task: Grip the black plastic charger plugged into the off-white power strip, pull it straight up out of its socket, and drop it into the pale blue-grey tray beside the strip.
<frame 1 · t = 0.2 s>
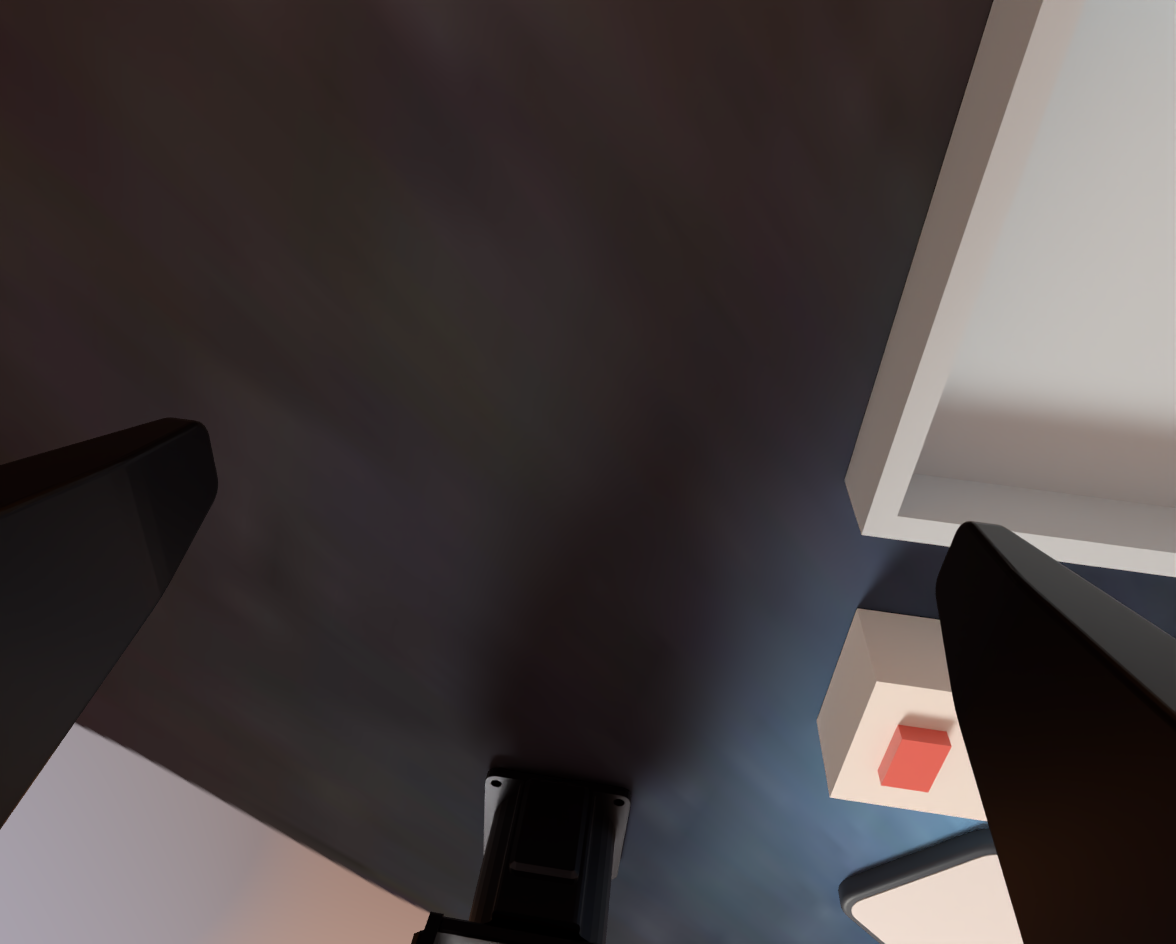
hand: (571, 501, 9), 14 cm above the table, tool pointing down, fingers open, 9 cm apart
phone case: (997, 925, 38), on the table
power strip: (1105, 706, 29), on the table
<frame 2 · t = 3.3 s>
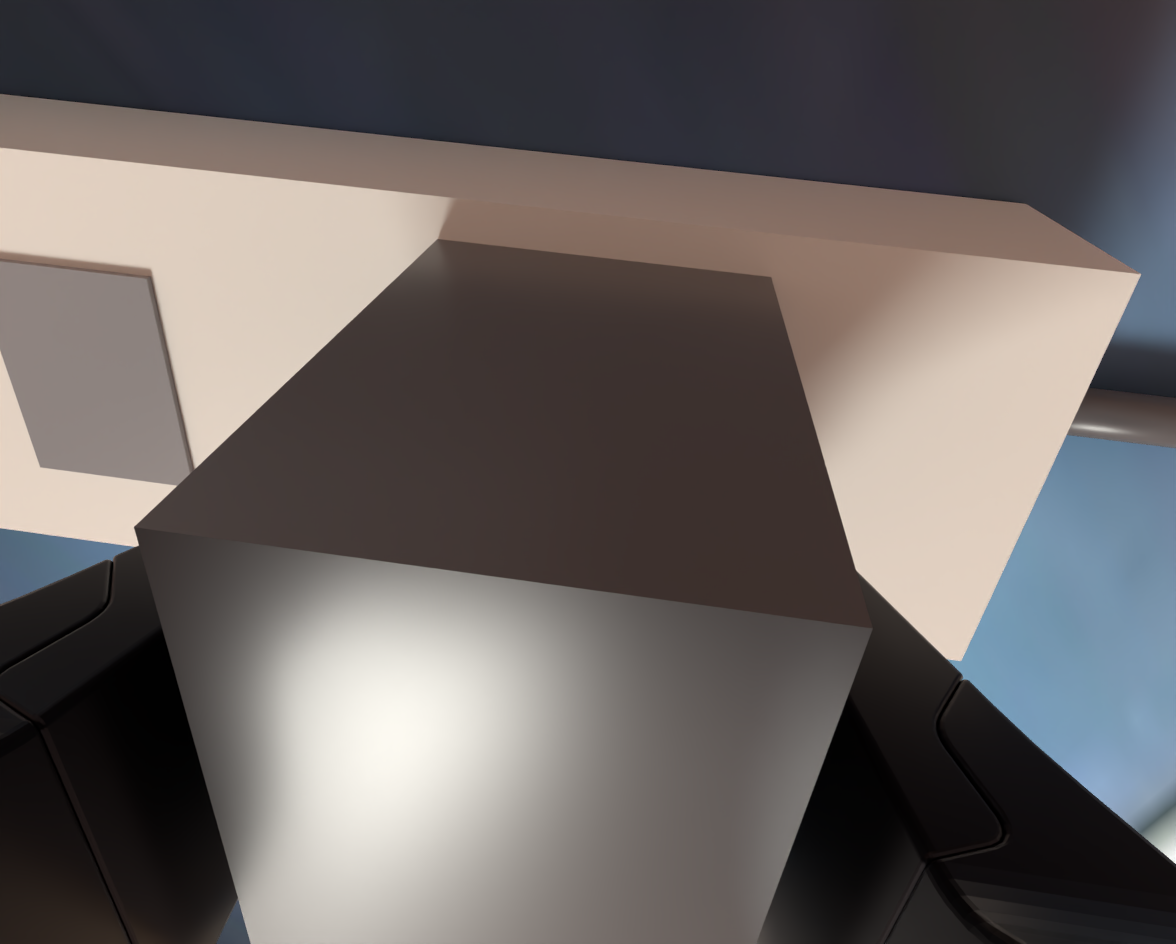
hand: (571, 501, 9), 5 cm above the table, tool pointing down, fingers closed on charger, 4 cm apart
charger: (585, 440, 11), point 3 cm above the table, touching gripper, power strip
power strip: (384, 316, 14), on the table
when the fingers open (6 cm above the table, at t = 8.6 s): charger drops 2 cm, resting on tray.
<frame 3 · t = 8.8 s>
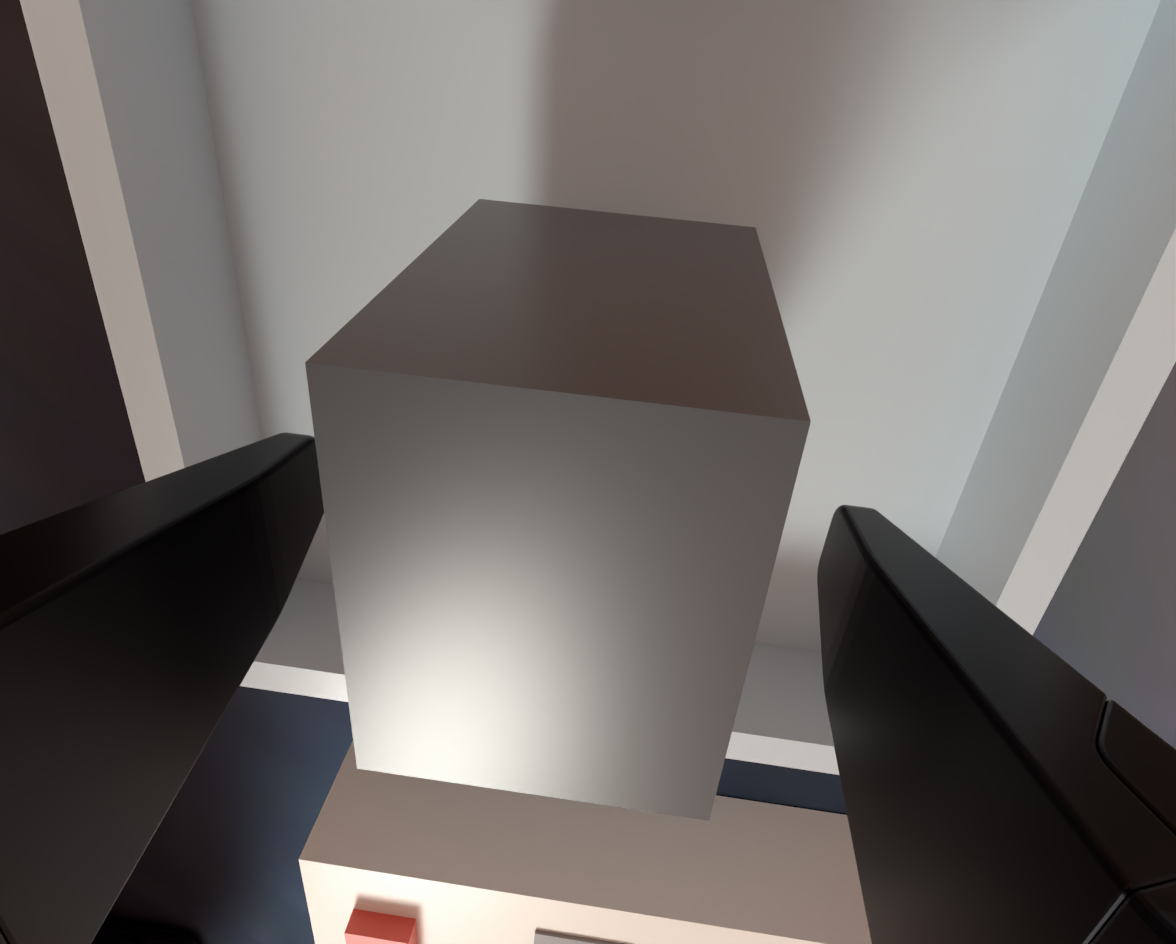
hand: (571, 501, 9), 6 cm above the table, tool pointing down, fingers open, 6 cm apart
tray: (614, 321, 14), on the table
charger: (601, 372, 12), point 2 cm above the table, touching tray
power strip: (695, 859, 23), on the table
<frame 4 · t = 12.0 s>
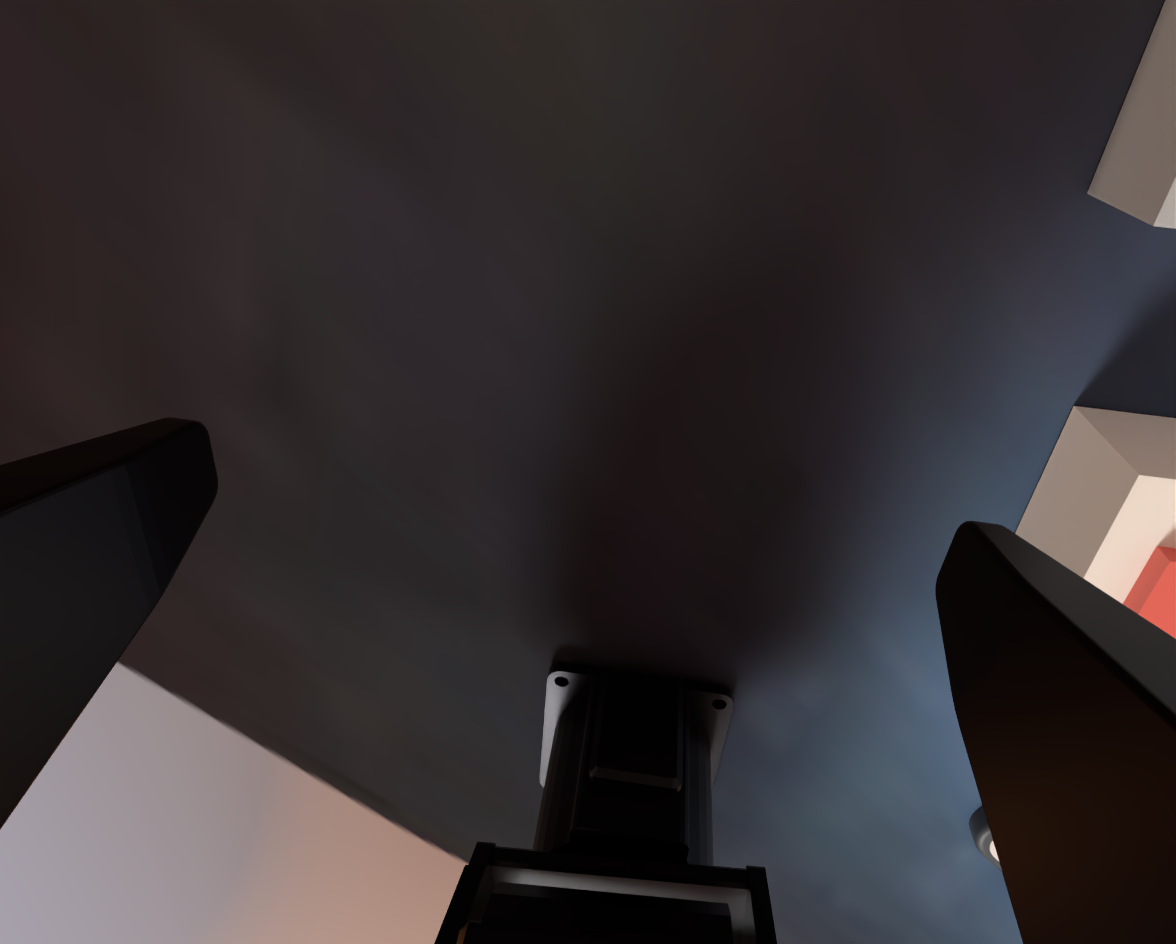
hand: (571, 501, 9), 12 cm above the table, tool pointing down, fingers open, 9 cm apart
phone case: (1168, 865, 30), on the table
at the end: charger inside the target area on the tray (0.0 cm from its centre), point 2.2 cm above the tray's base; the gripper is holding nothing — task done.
